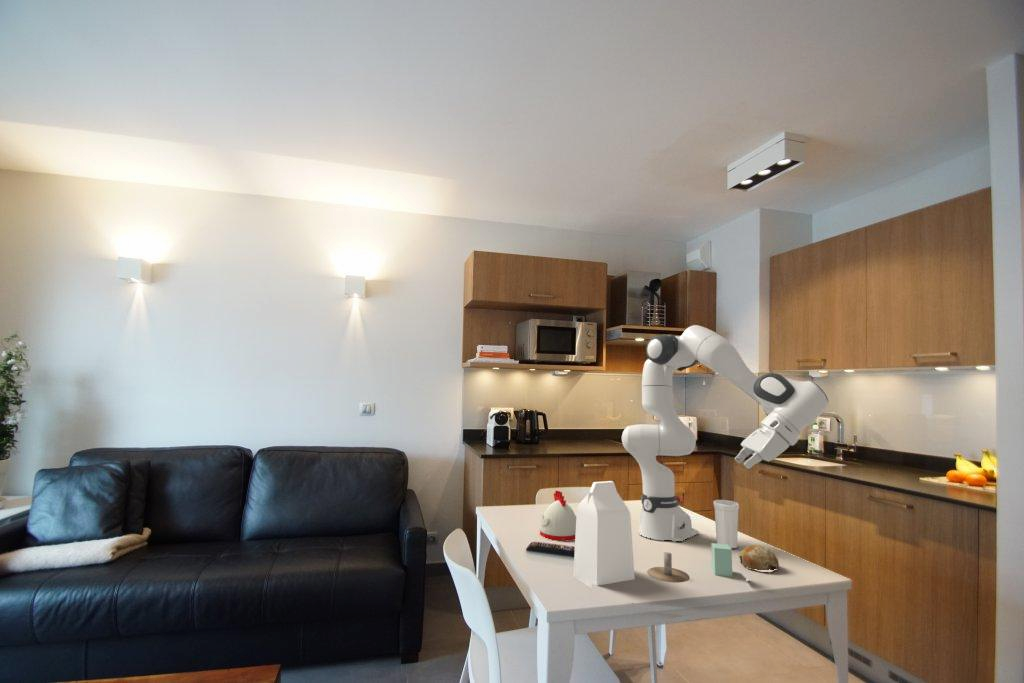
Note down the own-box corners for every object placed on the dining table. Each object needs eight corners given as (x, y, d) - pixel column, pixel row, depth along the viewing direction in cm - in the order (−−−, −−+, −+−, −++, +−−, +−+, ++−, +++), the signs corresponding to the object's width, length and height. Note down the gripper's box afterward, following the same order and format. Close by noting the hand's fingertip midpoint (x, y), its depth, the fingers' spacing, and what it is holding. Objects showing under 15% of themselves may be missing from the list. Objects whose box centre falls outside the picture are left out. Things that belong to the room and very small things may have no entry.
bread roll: (757, 586, 138) (767, 564, 135) (729, 560, 146) (738, 538, 144) (779, 580, 142) (789, 559, 140) (750, 555, 151) (760, 534, 149)
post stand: (665, 569, 139) (664, 544, 140) (698, 582, 130) (697, 555, 131) (638, 577, 133) (638, 550, 134) (671, 591, 124) (670, 563, 125)
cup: (738, 552, 156) (737, 506, 157) (711, 547, 160) (711, 503, 162) (741, 545, 163) (740, 501, 164) (716, 541, 167) (715, 498, 169)
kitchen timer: (568, 528, 180) (568, 486, 181) (586, 539, 167) (586, 494, 168) (533, 531, 175) (534, 488, 176) (549, 542, 162) (550, 496, 164)
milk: (596, 592, 123) (596, 487, 126) (573, 575, 134) (573, 479, 136) (634, 585, 128) (634, 484, 130) (609, 569, 138) (609, 477, 141)
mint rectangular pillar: (711, 572, 136) (711, 543, 137) (728, 573, 135) (727, 544, 136) (715, 578, 132) (714, 548, 133) (732, 579, 131) (731, 549, 132)
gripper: (757, 419, 146) (724, 451, 147) (780, 424, 126) (741, 460, 127) (774, 435, 144) (740, 466, 146) (800, 442, 125) (760, 479, 126)
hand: (741, 464), depth 136 cm, fingers open, 8 cm apart
